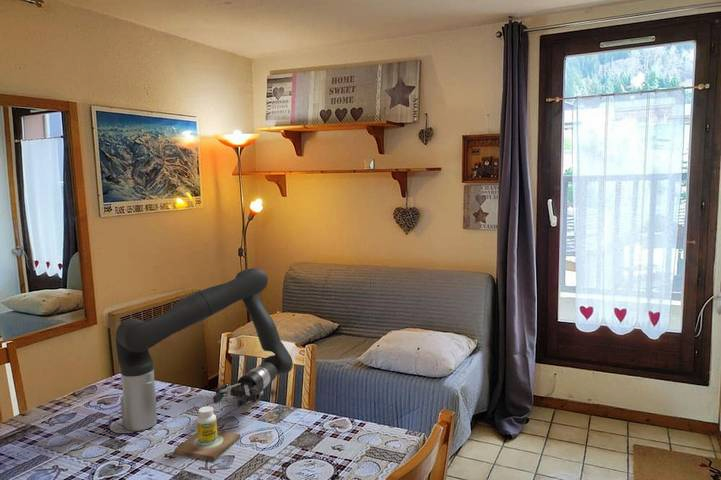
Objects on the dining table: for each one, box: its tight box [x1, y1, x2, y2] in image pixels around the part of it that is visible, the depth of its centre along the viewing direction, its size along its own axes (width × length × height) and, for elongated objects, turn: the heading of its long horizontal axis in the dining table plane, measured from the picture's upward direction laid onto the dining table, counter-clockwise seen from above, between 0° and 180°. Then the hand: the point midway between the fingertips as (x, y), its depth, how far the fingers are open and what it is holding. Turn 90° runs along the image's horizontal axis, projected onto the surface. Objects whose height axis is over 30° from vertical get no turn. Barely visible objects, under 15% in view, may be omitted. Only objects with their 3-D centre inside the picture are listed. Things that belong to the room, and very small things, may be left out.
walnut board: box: [173, 429, 241, 462], centre depth 150 cm, size 13×13×1 cm
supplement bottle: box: [196, 405, 218, 445], centre depth 150 cm, size 5×5×10 cm
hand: (226, 401), depth 159 cm, fingers open, 8 cm apart
